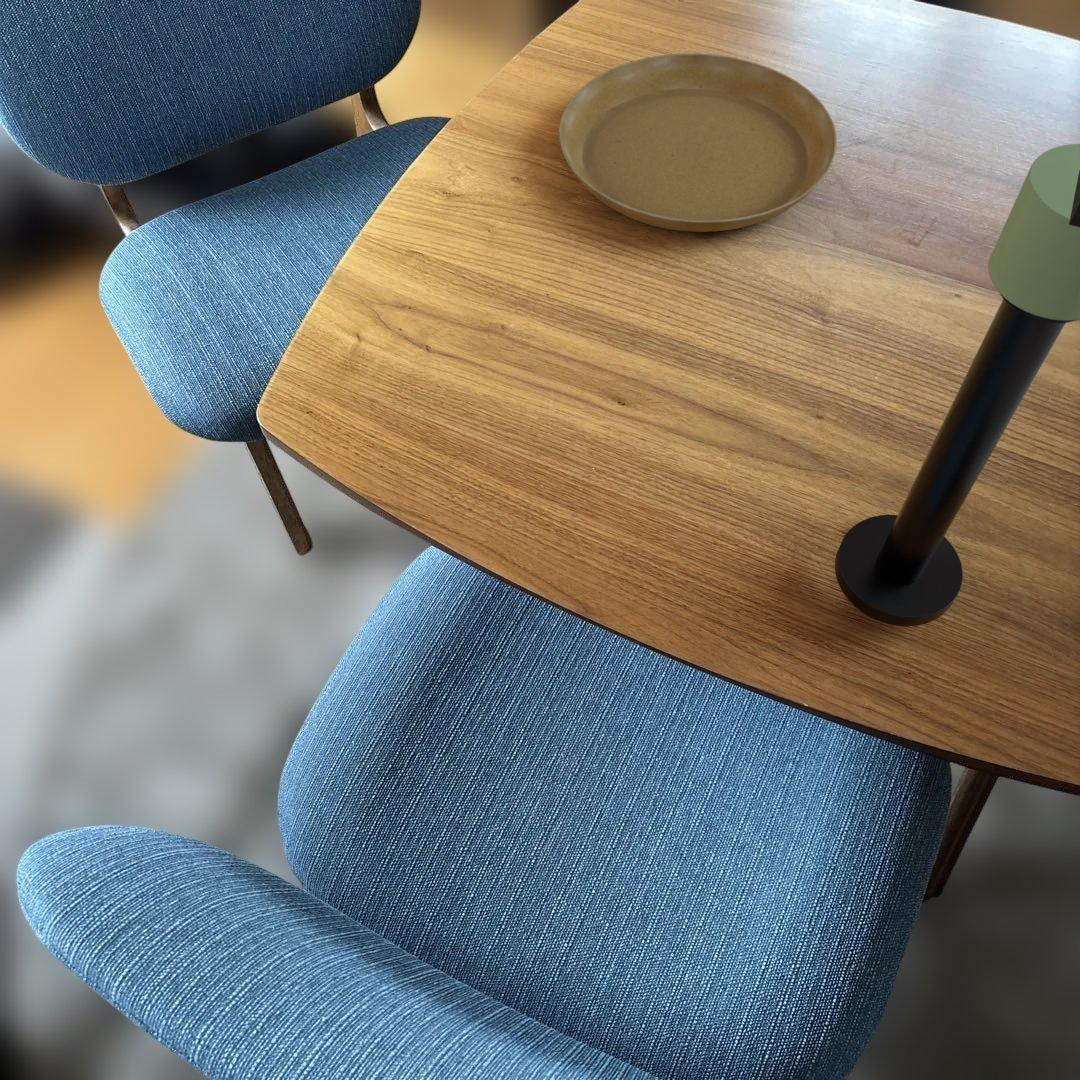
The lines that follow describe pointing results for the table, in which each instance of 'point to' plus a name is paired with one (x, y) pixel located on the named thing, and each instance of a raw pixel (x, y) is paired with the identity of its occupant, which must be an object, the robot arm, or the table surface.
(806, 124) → the plant saucer
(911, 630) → the table surface
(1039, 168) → the sage green cylinder
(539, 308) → the table surface
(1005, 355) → the stand
